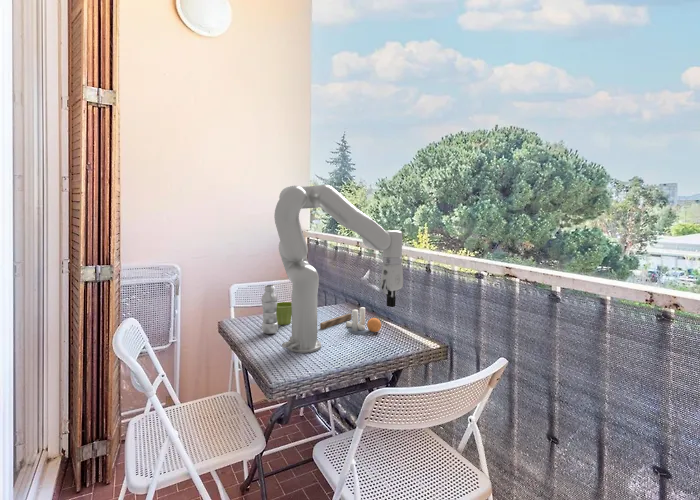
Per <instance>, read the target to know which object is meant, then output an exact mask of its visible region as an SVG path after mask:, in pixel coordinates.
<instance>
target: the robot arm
mask: <svg viewBox="0 0 700 500" xmlns="http://www.w3.org/2000/svg"><path fill="white" fill-rule="evenodd" d="M278 198H279V200H277V203H276V205H275V209H274V213H273V214H274V224H275V228H276V230H277V235H278V238H279V240H280V241H279V242H278V252H279V256H280V258H281V261H282V263H283V268H284V270H285V274H286V275H287V278H288V279H289V281H290V282H291V283H292V284H291V285H292V288H291V289H292V290H291V303H292V316H291V336H290V337H289V339H288V341H285V342H282V343H281V346H282V348H283V349H286V348H287V349H288V350H289V351H291V352H293V353H300V354H301V353H302V354H306V353H307V354H308V353H313V352H316V351H318V350H320V349H321V348H322V342H321V341H320V340H318V296H319V295H318V294H319V293H318V291H319V284H320V277H319V273H318V271H317V269H316V268H315V267H314V266H313V265H311V264H310V263H309V261H308V257H307V256H308V253H309V247H308V243H307V241H306V238H305V235H304V232H303V229H302V226H301V223H300V212H301V210H302V209H316V208H321V209H322V210H323V211H324V212H325V213H327V214H328V215H329V216H330V217H331V218H333V219H334V220H335V221H336V222H337V224H339V225H341V226H342V227H344V228H346V229H348V230H350V231H352V232H354V233H356V234H358V236H360V237H362V243H363V245H364V246H365V247H366V248H368V249H372V250H376V251H380V252H382V268H381V275H380V278H381V279H380V289H381V290H382V294H383V295H385V296H386V307H388V308H395V307H396V299H397V298H396V297H397V293H398V291H399V290H400V289H402V288H403V287H404V271H403V269H404V268H403V264H402V262H403V261H402V260H403V232H402V231H401V230H398V229H397V230H396V229H394V230H392V229H389V230H385V229H384V228H383V227H382V226H381V225H380V224H378V223H377V222H376V221H375V220H374V219H373V218H372V217H369V216H368V215H367V214H366V213H364V212H362V211H361V210H360V209H358V207H356V206H354V205H353V204H352V203H351V202H350V201H349V200H348V199H347V198H345V197H344V195H342V194H341V192H339V191H337V190H336V189H335V188H334V187H333V186H331V185H329V184H319V185H311V186H307V185H306V186H299V185H290V186H287V187H285V188H283V189H282V190H281V191H280V194H279V196H278Z"/></svg>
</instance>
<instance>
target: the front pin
mask: <svg viewBox="0 0 700 500" xmlns="http://www.w3.org/2000/svg"><path fill="white" fill-rule="evenodd" d="M365 326H366V325H365ZM365 326H364V325H361V324H359V323H358V330H362V331H363V330H365ZM345 327H347V328H350V327H351V328H352V321H350V320H348V321H345Z"/></svg>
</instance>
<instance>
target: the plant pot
mask: <svg viewBox="0 0 700 500" xmlns="http://www.w3.org/2000/svg"><path fill="white" fill-rule="evenodd" d="M276 315H277V323H278V326H282V325H285V326H288V325H289V324H292V301H290V302H289V301H281V302H280V301H279V302H277V310H276Z"/></svg>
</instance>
